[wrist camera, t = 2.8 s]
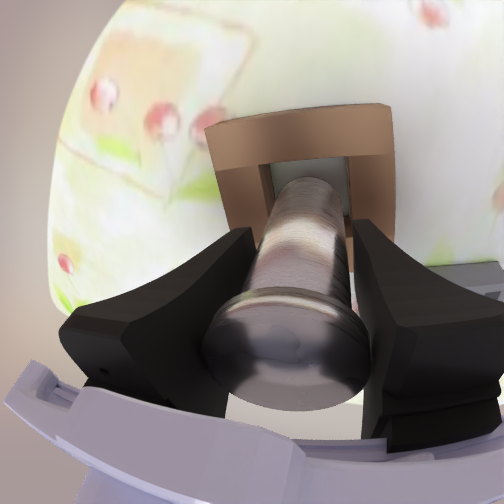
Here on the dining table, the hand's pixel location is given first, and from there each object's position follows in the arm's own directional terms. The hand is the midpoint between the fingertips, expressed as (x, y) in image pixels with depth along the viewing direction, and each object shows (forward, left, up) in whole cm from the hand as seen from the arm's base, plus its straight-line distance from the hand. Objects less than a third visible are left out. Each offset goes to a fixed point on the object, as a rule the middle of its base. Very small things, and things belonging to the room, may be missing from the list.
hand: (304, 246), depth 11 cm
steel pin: (0, 0, -3) cm, 3 cm away
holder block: (0, 0, -7) cm, 7 cm away
